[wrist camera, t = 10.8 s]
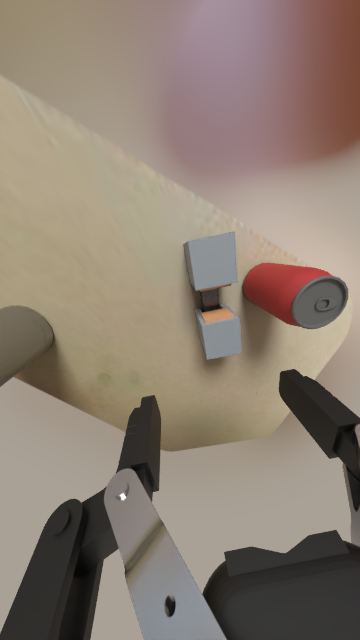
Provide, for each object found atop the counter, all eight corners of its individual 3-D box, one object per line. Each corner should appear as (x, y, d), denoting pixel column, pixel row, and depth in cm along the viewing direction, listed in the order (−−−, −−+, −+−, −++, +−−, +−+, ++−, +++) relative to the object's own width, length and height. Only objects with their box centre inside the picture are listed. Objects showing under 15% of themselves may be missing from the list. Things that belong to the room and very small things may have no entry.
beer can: (274, 303, 29) (336, 335, 18) (237, 301, 29) (279, 332, 18) (286, 264, 27) (367, 273, 16) (246, 260, 26) (301, 267, 15)
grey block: (199, 337, 31) (207, 359, 25) (194, 307, 29) (201, 323, 22) (227, 331, 31) (242, 353, 24) (224, 301, 29) (239, 315, 22)
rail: (206, 336, 31) (209, 342, 29) (193, 244, 25) (194, 243, 23) (219, 334, 31) (222, 339, 29) (208, 240, 25) (211, 240, 23)
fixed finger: (190, 283, 27) (196, 293, 21) (183, 244, 25) (187, 241, 18) (221, 277, 27) (237, 285, 21) (217, 236, 25) (234, 231, 18)
